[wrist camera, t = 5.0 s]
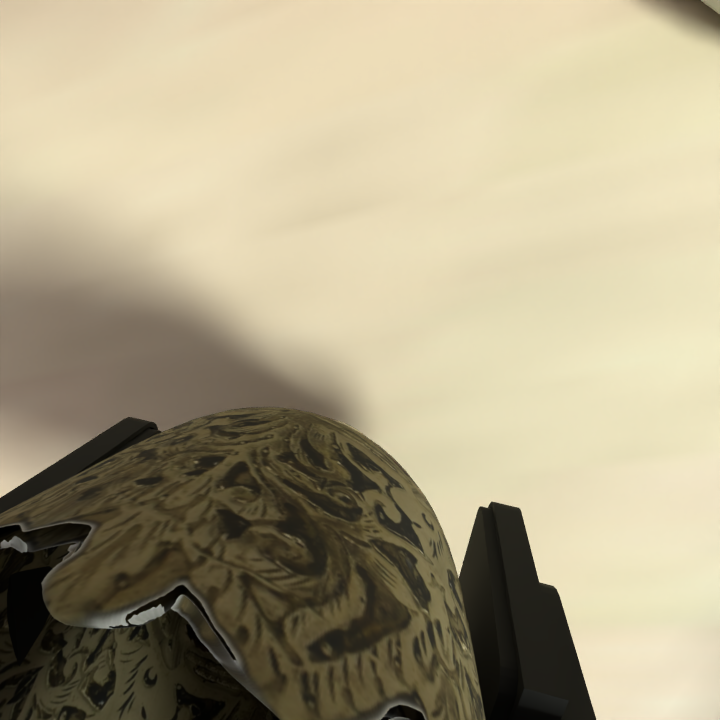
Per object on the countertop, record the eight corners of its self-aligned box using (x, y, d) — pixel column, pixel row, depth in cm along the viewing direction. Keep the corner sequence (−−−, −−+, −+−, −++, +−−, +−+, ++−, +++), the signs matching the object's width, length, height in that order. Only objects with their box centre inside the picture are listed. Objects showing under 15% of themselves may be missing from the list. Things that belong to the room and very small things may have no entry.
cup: (222, 593, 13) (-73, 1072, 6) (154, 344, 11) (-414, 592, 4) (491, 600, 12) (557, 1280, 4) (466, 311, 10) (504, 628, 2)
